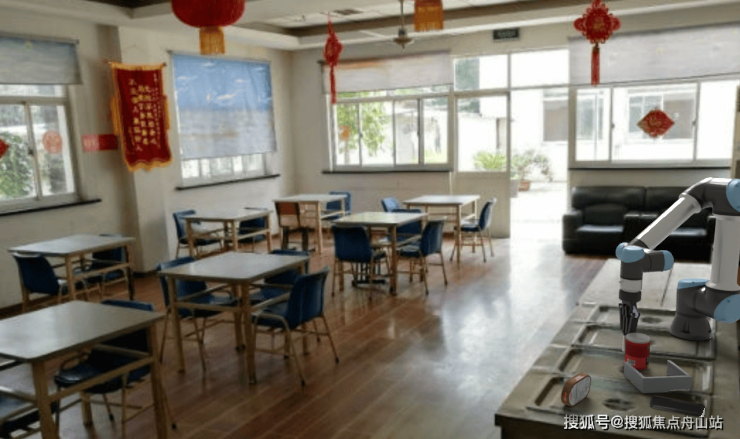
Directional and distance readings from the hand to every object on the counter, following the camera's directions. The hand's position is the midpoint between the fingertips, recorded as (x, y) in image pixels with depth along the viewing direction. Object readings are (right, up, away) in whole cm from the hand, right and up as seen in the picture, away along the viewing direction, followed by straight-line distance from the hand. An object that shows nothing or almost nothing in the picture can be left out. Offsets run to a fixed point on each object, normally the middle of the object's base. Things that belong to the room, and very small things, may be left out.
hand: (626, 351), depth 219 cm
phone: (0, -10, -37) cm, 38 cm away
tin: (-29, -9, -32) cm, 44 cm away
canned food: (+1, -4, -6) cm, 7 cm away
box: (+1, -6, -20) cm, 21 cm away
